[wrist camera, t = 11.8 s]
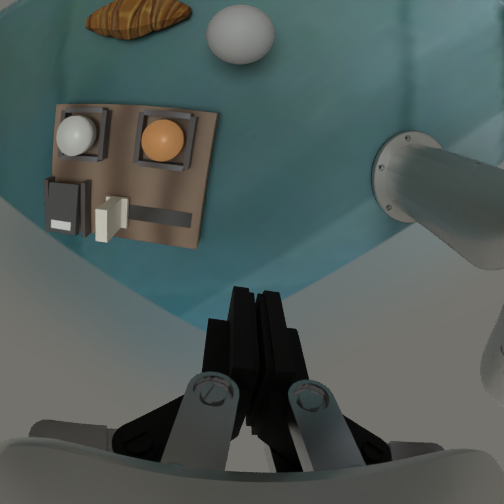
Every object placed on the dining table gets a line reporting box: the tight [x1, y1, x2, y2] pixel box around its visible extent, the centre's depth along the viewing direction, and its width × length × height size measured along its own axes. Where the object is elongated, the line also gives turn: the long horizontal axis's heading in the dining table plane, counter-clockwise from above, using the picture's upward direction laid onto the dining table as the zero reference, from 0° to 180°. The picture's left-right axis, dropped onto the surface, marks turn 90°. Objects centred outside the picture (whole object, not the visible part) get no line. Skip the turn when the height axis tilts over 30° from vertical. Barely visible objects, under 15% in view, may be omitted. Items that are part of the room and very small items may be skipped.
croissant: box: [85, 0, 191, 40], centre depth 24 cm, size 14×7×5 cm, turn 85°
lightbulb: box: [206, 5, 275, 64], centre depth 24 cm, size 6×6×11 cm
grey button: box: [56, 115, 96, 156], centre depth 27 cm, size 4×4×2 cm
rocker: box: [47, 182, 81, 235], centre depth 31 cm, size 4×6×1 cm
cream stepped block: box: [95, 195, 129, 243], centre depth 31 cm, size 3×4×5 cm
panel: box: [44, 104, 219, 249], centre depth 32 cm, size 20×16×5 cm
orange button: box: [141, 119, 186, 162], centre depth 29 cm, size 4×4×2 cm
